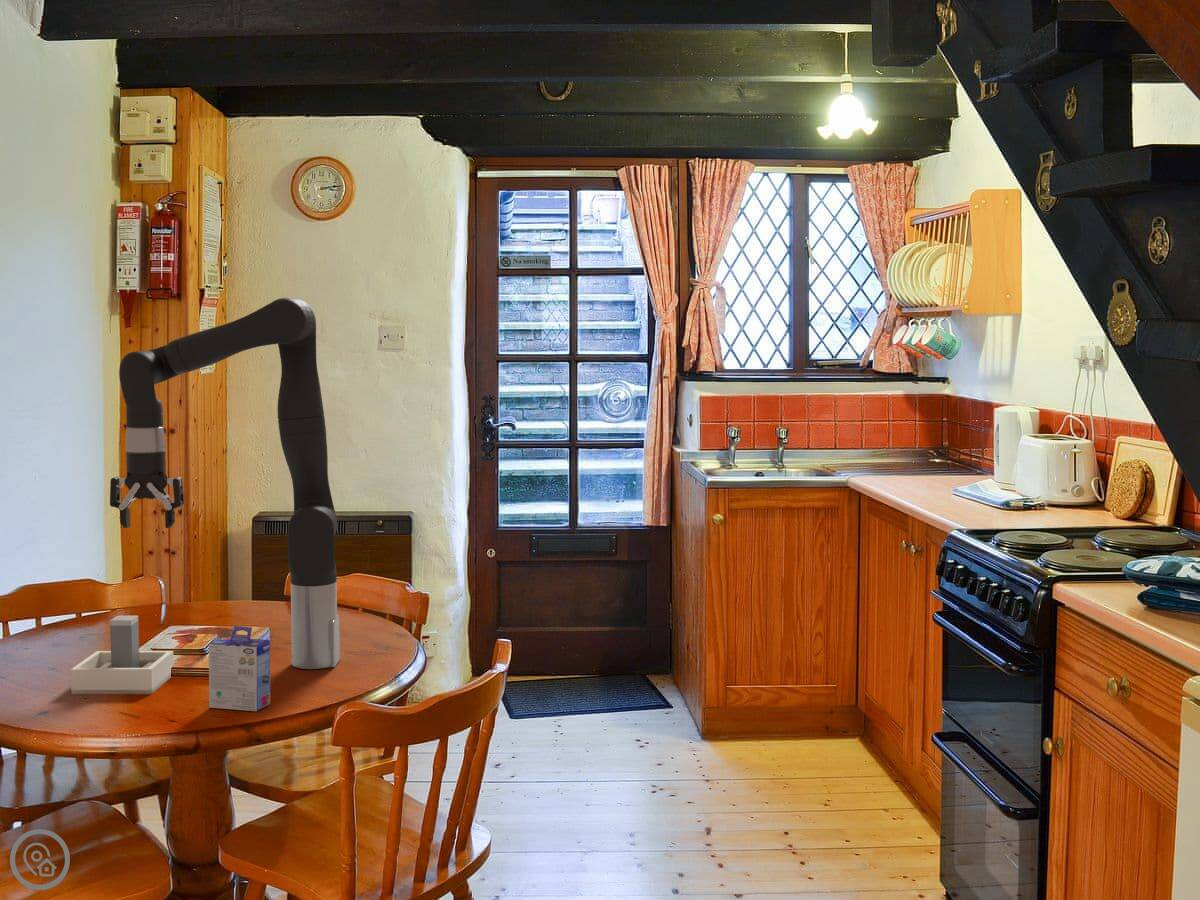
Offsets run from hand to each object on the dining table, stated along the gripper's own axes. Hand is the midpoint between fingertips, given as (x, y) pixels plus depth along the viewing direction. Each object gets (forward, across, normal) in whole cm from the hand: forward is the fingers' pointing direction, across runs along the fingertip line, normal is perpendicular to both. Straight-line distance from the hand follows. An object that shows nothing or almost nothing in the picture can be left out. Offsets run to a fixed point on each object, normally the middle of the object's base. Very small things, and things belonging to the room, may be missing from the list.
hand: (147, 527), depth 246 cm
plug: (+27, 0, -15) cm, 31 cm away
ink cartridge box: (+28, +26, -30) cm, 49 cm away
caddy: (+28, 0, -16) cm, 32 cm away
